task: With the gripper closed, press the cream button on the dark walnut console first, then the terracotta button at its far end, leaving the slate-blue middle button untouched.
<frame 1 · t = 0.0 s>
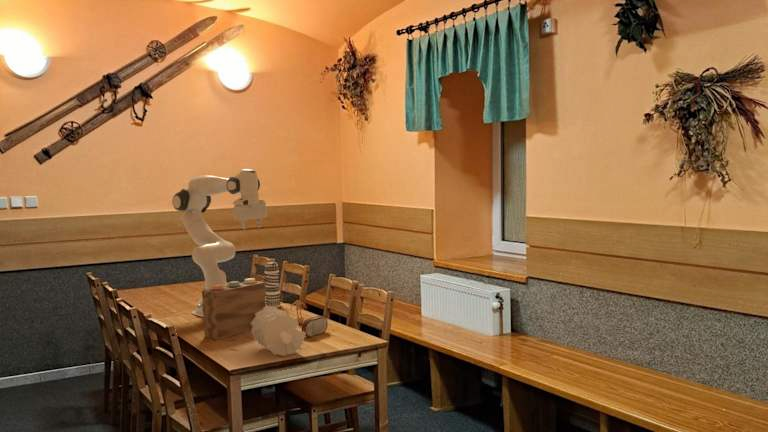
hand: (251, 227, 350), 48 cm above the table, tool pointing down, fingers open, 8 cm apart
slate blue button: (234, 284, 330), point 23 cm above the table, slide at 0.0 cm
decorative candle: (273, 306, 389), on the table
terracotta button: (217, 288, 322), point 23 cm above the table, slide at 0.0 cm
tin: (315, 335, 319), on the table
figurine: (299, 324, 343), on the table
cream button: (249, 281, 338), point 23 cm above the table, slide at 0.0 cm
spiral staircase: (275, 351, 293), on the table
button console: (236, 331, 332), on the table
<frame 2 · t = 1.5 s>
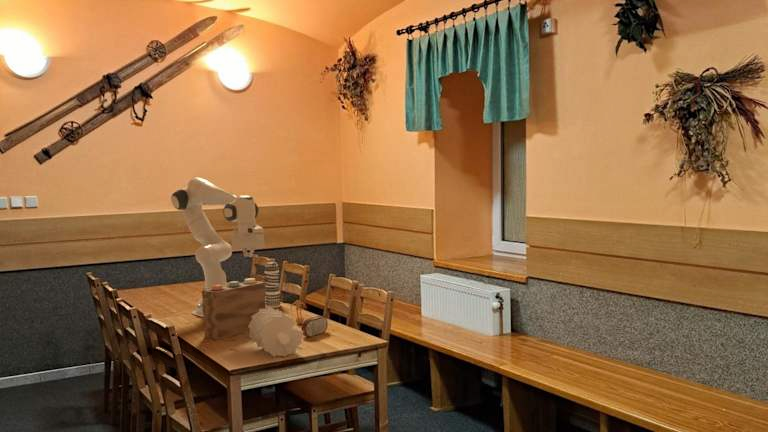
hand: (248, 256, 337), 35 cm above the table, tool pointing down, fingers closed
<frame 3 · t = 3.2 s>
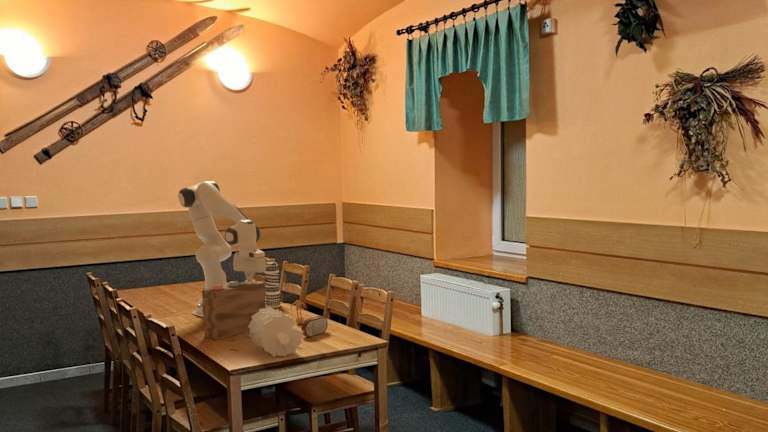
hand: (249, 280, 338), 23 cm above the table, tool pointing down, fingers closed, pressing on cream button
cream button: (249, 283, 338), point 22 cm above the table, slide at 0.8 cm, touching gripper
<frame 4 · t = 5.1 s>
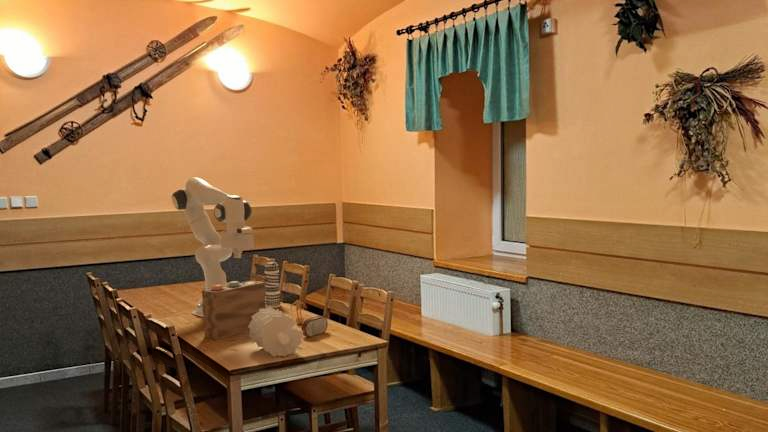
hand: (237, 257, 331), 35 cm above the table, tool pointing down, fingers closed
cream button: (250, 285, 338), point 21 cm above the table, slide at 2.0 cm
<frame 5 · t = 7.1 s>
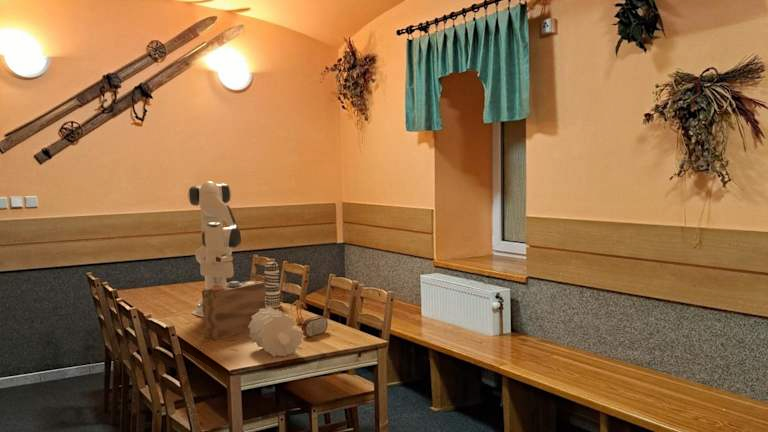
hand: (217, 286, 322), 24 cm above the table, tool pointing down, fingers closed, pressing on terracotta button
terracotta button: (217, 289, 322), point 22 cm above the table, slide at 0.4 cm, touching gripper
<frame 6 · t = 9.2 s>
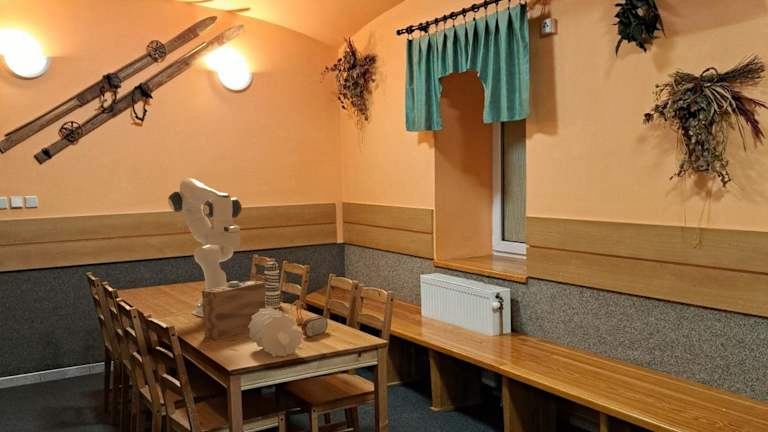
hand: (224, 255, 331), 37 cm above the table, tool pointing down, fingers closed
terracotta button: (217, 292, 322), point 21 cm above the table, slide at 2.0 cm
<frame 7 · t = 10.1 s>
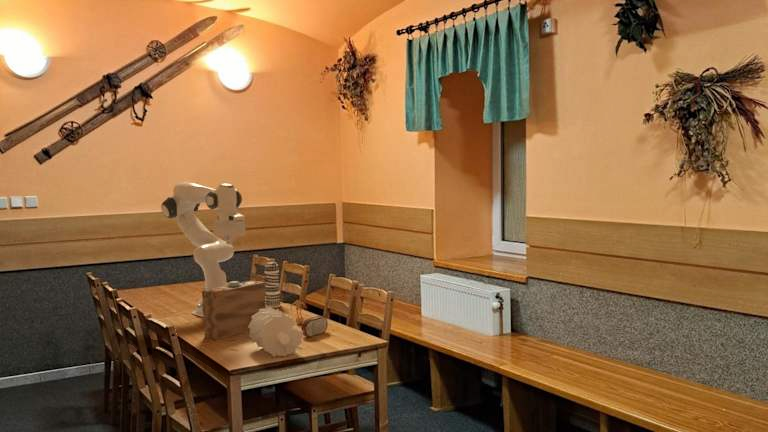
hand: (229, 244, 340), 41 cm above the table, tool pointing down, fingers closed
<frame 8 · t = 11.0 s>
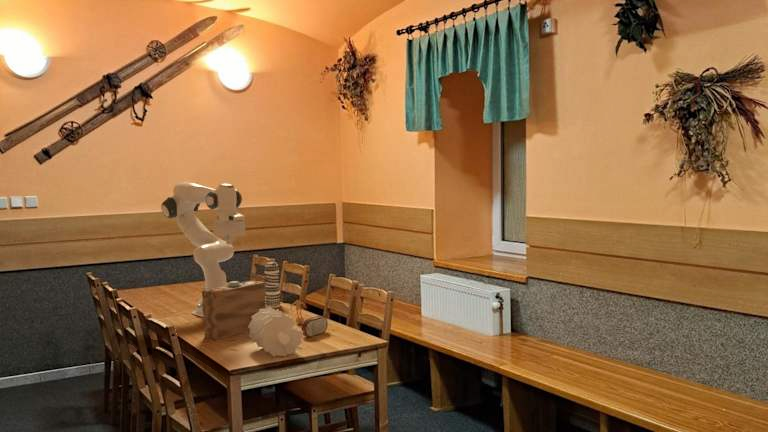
hand: (229, 244, 340), 41 cm above the table, tool pointing down, fingers closed
at the end: cream button slide at 2.0 cm; terracotta button slide at 2.0 cm; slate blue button slide at 0.0 cm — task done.
